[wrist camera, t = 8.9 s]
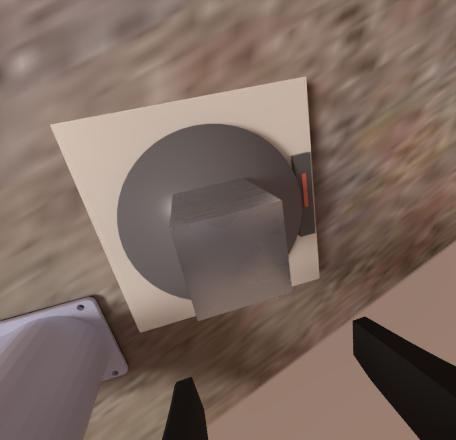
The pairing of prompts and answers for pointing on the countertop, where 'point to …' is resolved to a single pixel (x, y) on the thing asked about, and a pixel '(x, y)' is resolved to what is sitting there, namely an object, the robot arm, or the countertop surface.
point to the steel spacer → (230, 246)
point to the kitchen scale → (189, 181)
